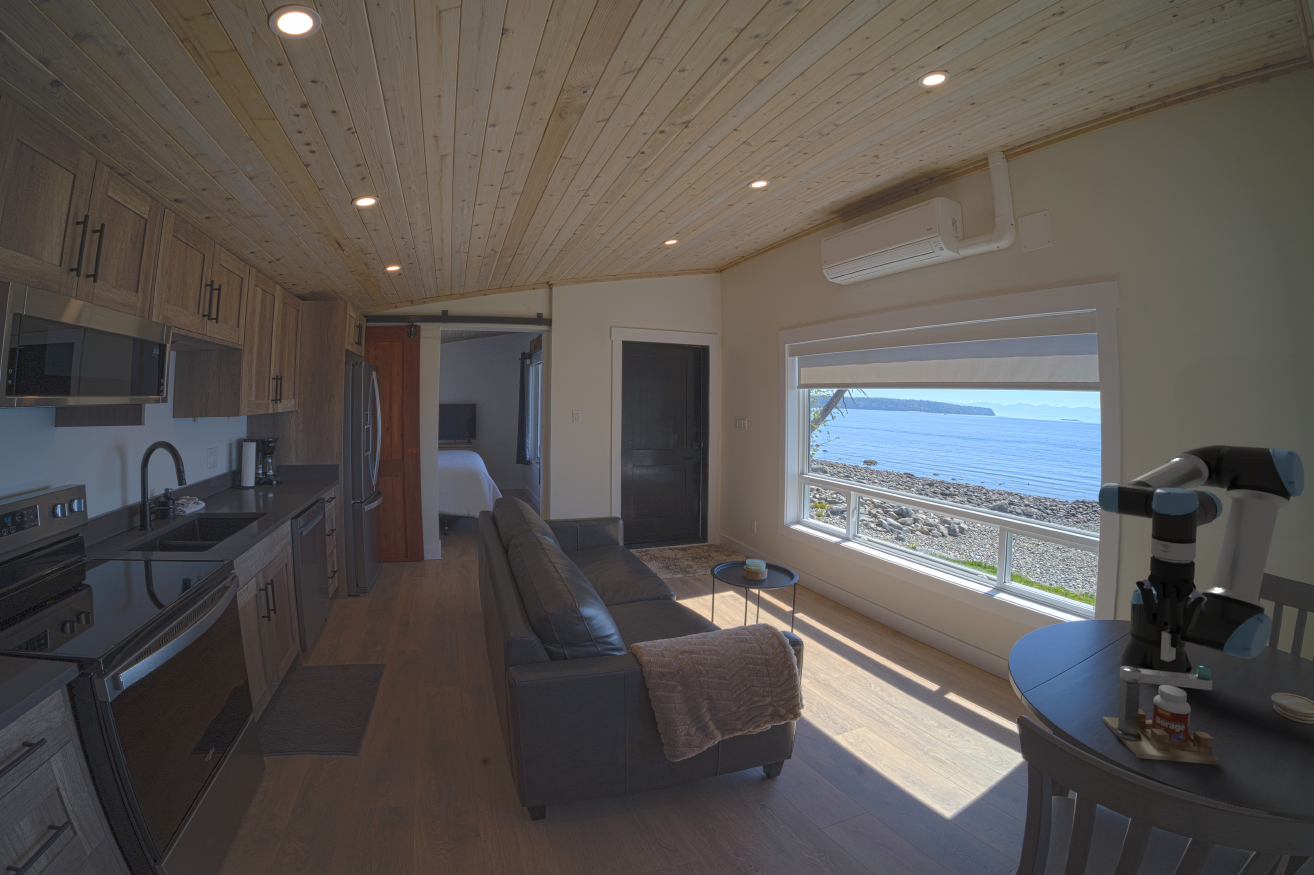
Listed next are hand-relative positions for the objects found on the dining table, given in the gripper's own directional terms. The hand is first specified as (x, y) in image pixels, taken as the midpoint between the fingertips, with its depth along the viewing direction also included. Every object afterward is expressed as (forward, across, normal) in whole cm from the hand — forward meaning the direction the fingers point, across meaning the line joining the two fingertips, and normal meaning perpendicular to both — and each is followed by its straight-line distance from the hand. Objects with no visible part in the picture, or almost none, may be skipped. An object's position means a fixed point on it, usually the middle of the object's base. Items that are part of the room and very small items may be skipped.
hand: (1167, 658), depth 135 cm
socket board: (+16, +2, -8) cm, 18 cm away
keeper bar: (+2, +3, -8) cm, 9 cm away
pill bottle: (+15, +4, -6) cm, 17 cm away
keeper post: (+16, -1, -13) cm, 21 cm away
